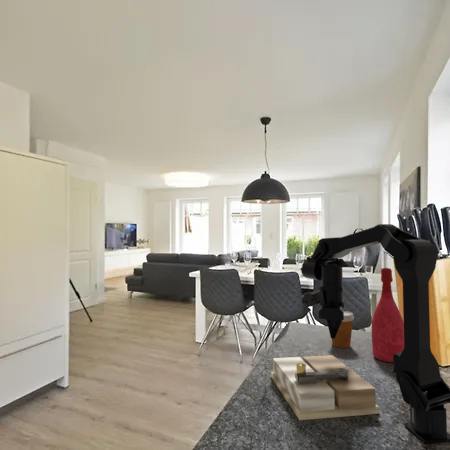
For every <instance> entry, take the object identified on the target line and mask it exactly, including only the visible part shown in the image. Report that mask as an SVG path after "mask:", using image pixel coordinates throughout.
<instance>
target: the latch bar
mask: <svg viewBox="0 0 450 450" xmlns="http://www.w3.org/2000/svg"><path fill="white" fill-rule="evenodd" d="M296 366H297V373H295V378H296V380H297V381H299V377H304V376H315V377H316V380H324V379H343V380H346V379H348V370H346V369H343V368H338V369H336V371H320V372H306V365H305V364H302V363H298V364H296Z"/></svg>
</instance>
